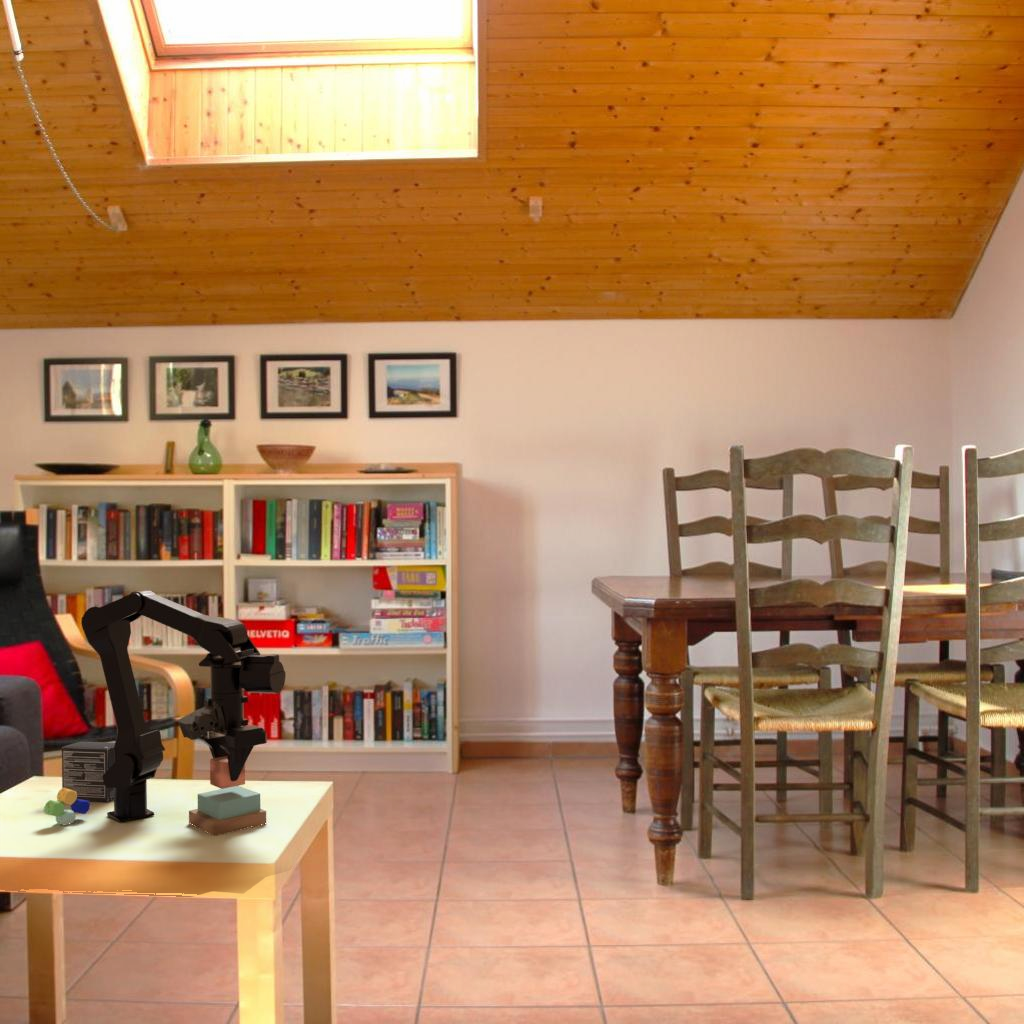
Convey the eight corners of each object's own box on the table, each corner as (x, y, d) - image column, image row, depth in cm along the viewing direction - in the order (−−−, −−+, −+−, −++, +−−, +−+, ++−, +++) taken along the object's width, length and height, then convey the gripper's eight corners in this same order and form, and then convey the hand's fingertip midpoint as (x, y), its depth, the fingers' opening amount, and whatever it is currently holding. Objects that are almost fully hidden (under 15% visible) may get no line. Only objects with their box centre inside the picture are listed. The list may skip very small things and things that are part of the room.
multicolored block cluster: (83, 816, 193) (82, 781, 193) (91, 818, 192) (91, 783, 192) (42, 827, 187) (42, 791, 187) (50, 829, 185) (50, 793, 185)
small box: (128, 794, 208) (127, 741, 208) (108, 803, 202) (107, 748, 202) (81, 791, 211) (80, 739, 211) (60, 800, 204) (59, 746, 204)
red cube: (210, 784, 188) (210, 759, 188) (233, 779, 191) (233, 755, 191) (221, 788, 184) (221, 763, 184) (245, 784, 187) (244, 759, 187)
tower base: (189, 827, 188) (188, 810, 188) (240, 816, 195) (240, 800, 195) (214, 840, 180) (213, 822, 180) (266, 827, 187) (266, 811, 187)
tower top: (197, 810, 188) (197, 793, 188) (237, 801, 193) (237, 785, 193) (219, 820, 182) (219, 802, 182) (260, 810, 188) (260, 793, 187)
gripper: (161, 690, 189) (162, 776, 189) (208, 704, 175) (209, 797, 175) (219, 683, 197) (219, 766, 197) (268, 695, 183) (268, 785, 183)
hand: (227, 778), depth 188 cm, fingers closed on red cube, 4 cm apart
